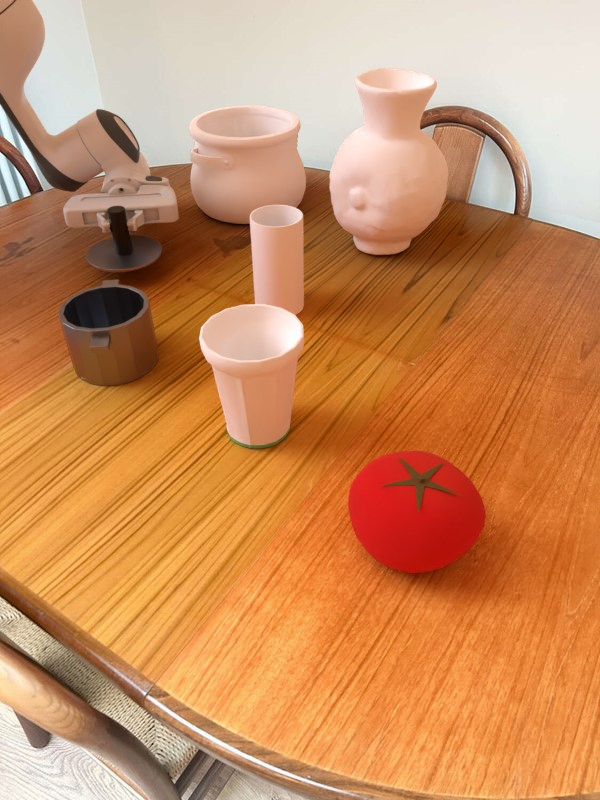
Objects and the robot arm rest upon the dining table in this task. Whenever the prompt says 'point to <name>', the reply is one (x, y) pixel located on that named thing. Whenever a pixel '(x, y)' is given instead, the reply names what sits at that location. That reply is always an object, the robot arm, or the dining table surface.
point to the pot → (245, 161)
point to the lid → (123, 247)
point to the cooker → (109, 333)
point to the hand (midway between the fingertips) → (119, 228)
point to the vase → (389, 164)
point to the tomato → (415, 511)
